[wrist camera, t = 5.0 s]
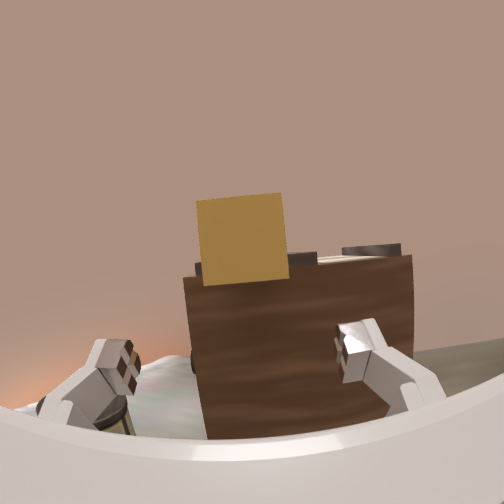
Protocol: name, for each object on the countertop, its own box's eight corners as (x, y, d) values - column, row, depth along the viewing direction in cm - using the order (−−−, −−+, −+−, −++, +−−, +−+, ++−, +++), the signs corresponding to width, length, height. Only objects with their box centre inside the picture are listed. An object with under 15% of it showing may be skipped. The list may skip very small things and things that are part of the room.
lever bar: (289, 278, 14) (280, 192, 14) (203, 286, 14) (196, 201, 14) (269, 263, 36) (266, 229, 36) (235, 266, 36) (232, 232, 36)
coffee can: (66, 489, 22) (26, 397, 22) (126, 464, 31) (98, 376, 31) (108, 535, 17) (53, 436, 17) (175, 497, 25) (145, 401, 25)
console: (392, 492, 22) (410, 242, 22) (217, 516, 22) (168, 265, 22) (358, 433, 36) (356, 246, 36) (227, 449, 36) (201, 260, 36)
